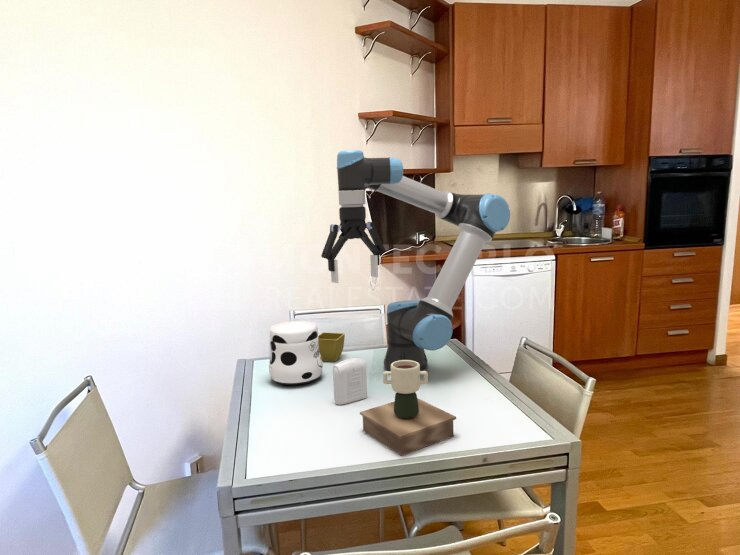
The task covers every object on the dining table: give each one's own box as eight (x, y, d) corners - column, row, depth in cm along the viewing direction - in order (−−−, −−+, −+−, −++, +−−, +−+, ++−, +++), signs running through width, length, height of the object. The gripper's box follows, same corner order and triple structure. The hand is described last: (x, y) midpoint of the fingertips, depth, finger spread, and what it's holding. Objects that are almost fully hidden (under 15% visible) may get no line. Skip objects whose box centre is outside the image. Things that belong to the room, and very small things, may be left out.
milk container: (334, 377, 171) (331, 324, 168) (292, 393, 159) (288, 336, 156) (300, 367, 183) (297, 317, 180) (259, 381, 170) (255, 327, 168)
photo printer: (361, 393, 156) (360, 354, 154) (369, 398, 153) (368, 357, 151) (332, 402, 151) (330, 361, 149) (339, 406, 147) (337, 365, 145)
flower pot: (346, 356, 193) (345, 333, 191) (338, 364, 185) (337, 339, 183) (324, 355, 195) (323, 332, 194) (315, 362, 187) (313, 338, 186)
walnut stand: (413, 413, 141) (412, 395, 140) (456, 436, 127) (456, 416, 126) (360, 430, 132) (359, 412, 131) (400, 457, 118) (400, 436, 117)
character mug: (428, 408, 132) (427, 359, 129) (429, 421, 125) (427, 369, 122) (385, 408, 133) (383, 359, 130) (383, 420, 126) (381, 369, 123)
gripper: (380, 204, 158) (382, 273, 161) (306, 208, 145) (311, 283, 148) (395, 204, 152) (397, 275, 155) (319, 208, 138) (323, 286, 142)
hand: (355, 279), depth 152 cm, fingers open, 13 cm apart
